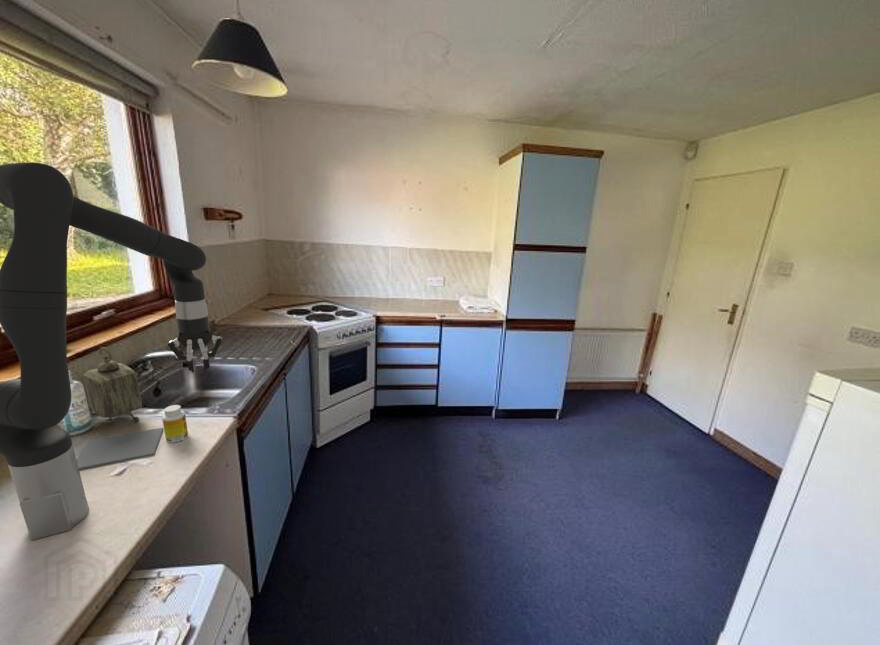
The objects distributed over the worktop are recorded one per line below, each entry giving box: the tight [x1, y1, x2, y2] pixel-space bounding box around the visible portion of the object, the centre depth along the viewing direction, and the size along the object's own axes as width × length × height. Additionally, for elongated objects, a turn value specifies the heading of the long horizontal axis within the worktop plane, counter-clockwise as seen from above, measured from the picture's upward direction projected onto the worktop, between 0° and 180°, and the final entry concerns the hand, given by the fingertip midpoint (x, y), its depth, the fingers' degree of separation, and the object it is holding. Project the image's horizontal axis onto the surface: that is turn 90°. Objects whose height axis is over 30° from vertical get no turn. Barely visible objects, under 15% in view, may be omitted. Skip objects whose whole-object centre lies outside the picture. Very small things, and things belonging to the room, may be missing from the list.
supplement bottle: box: [161, 404, 189, 444], centre depth 109 cm, size 6×6×10 cm
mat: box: [76, 427, 164, 471], centre depth 104 cm, size 14×18×1 cm
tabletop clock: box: [81, 346, 143, 425], centre depth 114 cm, size 14×9×25 cm, turn 61°
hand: (199, 370), depth 108 cm, fingers open, 2 cm apart
